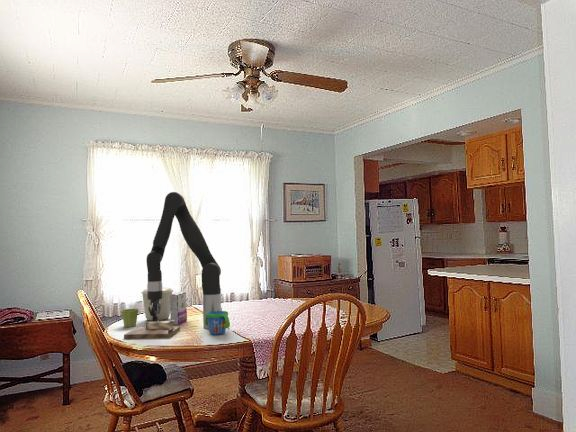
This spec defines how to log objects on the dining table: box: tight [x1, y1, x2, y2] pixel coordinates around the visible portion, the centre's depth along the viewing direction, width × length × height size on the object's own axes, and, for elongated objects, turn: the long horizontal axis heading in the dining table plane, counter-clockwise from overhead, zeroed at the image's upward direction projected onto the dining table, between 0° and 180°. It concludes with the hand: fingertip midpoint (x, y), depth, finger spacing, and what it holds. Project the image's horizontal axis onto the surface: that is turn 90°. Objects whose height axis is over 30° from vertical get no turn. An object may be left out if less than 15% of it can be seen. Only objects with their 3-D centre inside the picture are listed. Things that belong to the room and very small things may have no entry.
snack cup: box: [205, 310, 231, 336], centre depth 208 cm, size 16×10×10 cm
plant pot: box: [120, 308, 140, 328], centre depth 234 cm, size 9×9×9 cm
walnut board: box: [123, 326, 181, 340], centre depth 210 cm, size 22×16×4 cm
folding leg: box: [145, 319, 175, 329], centre depth 215 cm, size 14×3×4 cm, turn 88°
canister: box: [141, 286, 174, 322], centre depth 252 cm, size 18×18×21 cm
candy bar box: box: [170, 291, 188, 326], centre depth 239 cm, size 11×5×16 cm, turn 168°
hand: (155, 323), depth 222 cm, fingers closed
